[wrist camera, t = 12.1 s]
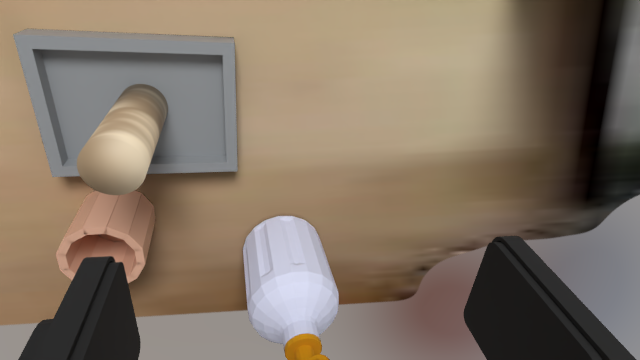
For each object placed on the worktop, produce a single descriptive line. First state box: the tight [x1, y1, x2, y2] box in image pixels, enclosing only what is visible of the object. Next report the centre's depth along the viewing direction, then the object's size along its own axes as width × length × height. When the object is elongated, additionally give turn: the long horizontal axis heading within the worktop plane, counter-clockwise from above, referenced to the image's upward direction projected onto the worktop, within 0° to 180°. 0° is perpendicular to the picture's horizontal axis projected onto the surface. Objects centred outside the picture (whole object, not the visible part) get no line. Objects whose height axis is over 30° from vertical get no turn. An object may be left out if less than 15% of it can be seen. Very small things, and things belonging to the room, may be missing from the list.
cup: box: [56, 190, 156, 283], centre depth 38 cm, size 7×7×7 cm
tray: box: [13, 29, 237, 177], centre depth 35 cm, size 16×12×2 cm
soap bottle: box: [243, 216, 339, 360], centre depth 37 cm, size 9×9×25 cm
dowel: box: [77, 84, 168, 195], centre depth 31 cm, size 4×4×12 cm
